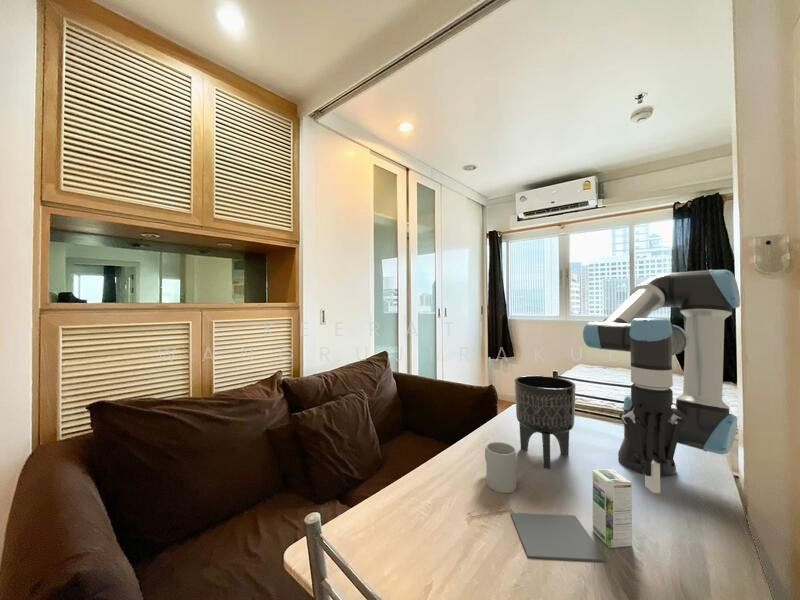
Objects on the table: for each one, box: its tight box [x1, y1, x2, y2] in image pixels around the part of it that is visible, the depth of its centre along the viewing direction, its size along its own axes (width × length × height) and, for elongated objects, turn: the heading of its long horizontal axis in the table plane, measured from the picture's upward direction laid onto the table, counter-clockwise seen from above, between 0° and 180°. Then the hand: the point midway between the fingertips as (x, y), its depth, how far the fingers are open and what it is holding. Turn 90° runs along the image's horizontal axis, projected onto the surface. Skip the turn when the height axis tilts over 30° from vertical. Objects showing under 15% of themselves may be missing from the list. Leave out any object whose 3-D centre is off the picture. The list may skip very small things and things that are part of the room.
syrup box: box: [592, 468, 633, 549], centre depth 74 cm, size 6×6×14 cm
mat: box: [510, 512, 607, 563], centre depth 75 cm, size 16×14×1 cm
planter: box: [514, 375, 576, 470], centre depth 113 cm, size 20×20×26 cm
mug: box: [484, 441, 517, 494], centre depth 97 cm, size 12×8×11 cm
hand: (652, 489), depth 73 cm, fingers closed
